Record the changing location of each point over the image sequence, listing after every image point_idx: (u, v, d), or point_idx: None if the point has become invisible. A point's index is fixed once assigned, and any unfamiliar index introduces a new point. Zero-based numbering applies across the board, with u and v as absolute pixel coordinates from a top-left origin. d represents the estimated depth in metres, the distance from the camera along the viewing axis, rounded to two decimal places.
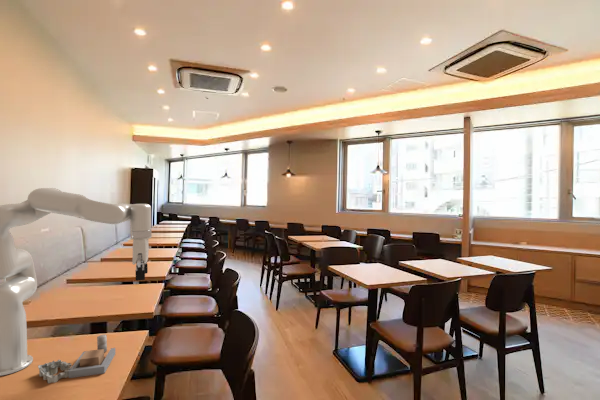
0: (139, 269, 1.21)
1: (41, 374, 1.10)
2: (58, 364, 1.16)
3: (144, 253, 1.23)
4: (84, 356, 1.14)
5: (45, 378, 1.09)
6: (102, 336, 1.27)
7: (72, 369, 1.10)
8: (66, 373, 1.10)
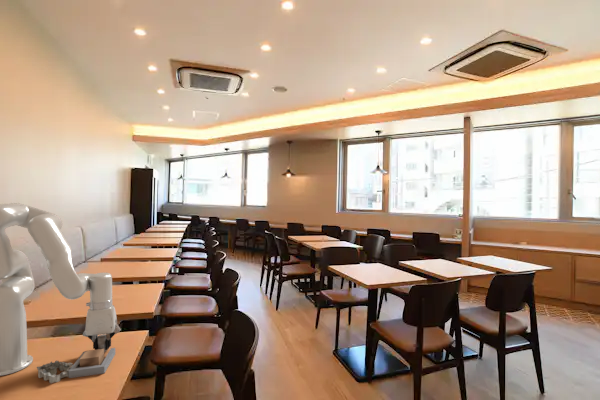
0: (111, 337, 1.28)
1: (40, 375, 1.10)
2: (56, 365, 1.15)
3: (116, 318, 1.29)
4: (84, 356, 1.14)
5: (46, 379, 1.08)
6: (102, 336, 1.27)
7: (72, 369, 1.10)
8: (68, 372, 1.11)
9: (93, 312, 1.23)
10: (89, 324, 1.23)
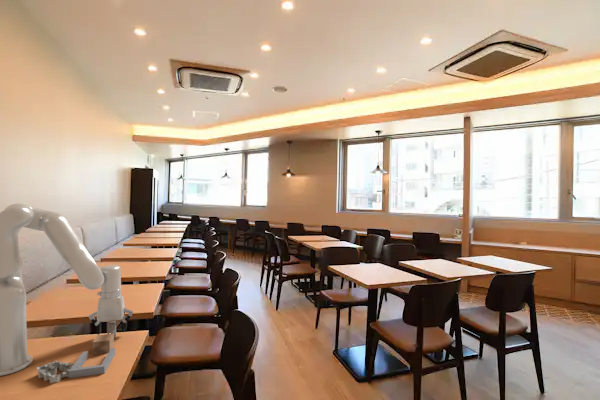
0: (127, 320, 1.41)
1: (40, 375, 1.10)
2: (56, 365, 1.15)
3: (124, 306, 1.42)
4: (96, 339, 1.27)
5: (46, 379, 1.08)
6: (112, 323, 1.39)
7: (72, 369, 1.10)
8: (68, 372, 1.10)
9: (104, 300, 1.36)
10: (100, 312, 1.35)
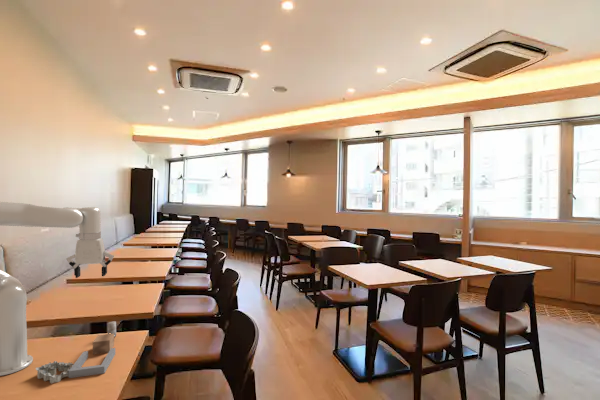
0: (107, 264, 1.36)
1: (40, 376, 1.09)
2: (54, 365, 1.15)
3: (104, 251, 1.37)
4: (96, 339, 1.27)
5: (46, 379, 1.08)
6: (112, 322, 1.39)
7: (72, 369, 1.10)
8: (68, 372, 1.11)
9: (82, 242, 1.31)
10: (78, 254, 1.30)
